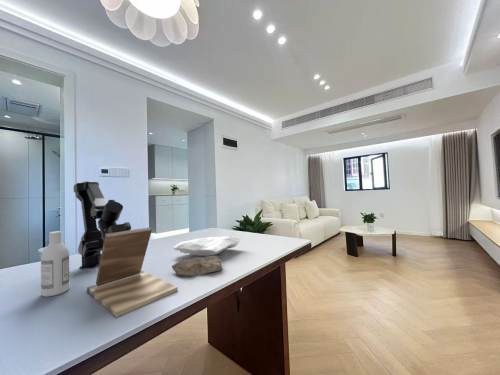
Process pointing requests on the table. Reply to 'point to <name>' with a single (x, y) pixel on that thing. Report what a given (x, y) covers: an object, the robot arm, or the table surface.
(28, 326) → the table surface
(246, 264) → the table surface
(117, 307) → the oak floor board
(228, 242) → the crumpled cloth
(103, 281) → the walnut plank
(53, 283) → the bath foam
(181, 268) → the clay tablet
